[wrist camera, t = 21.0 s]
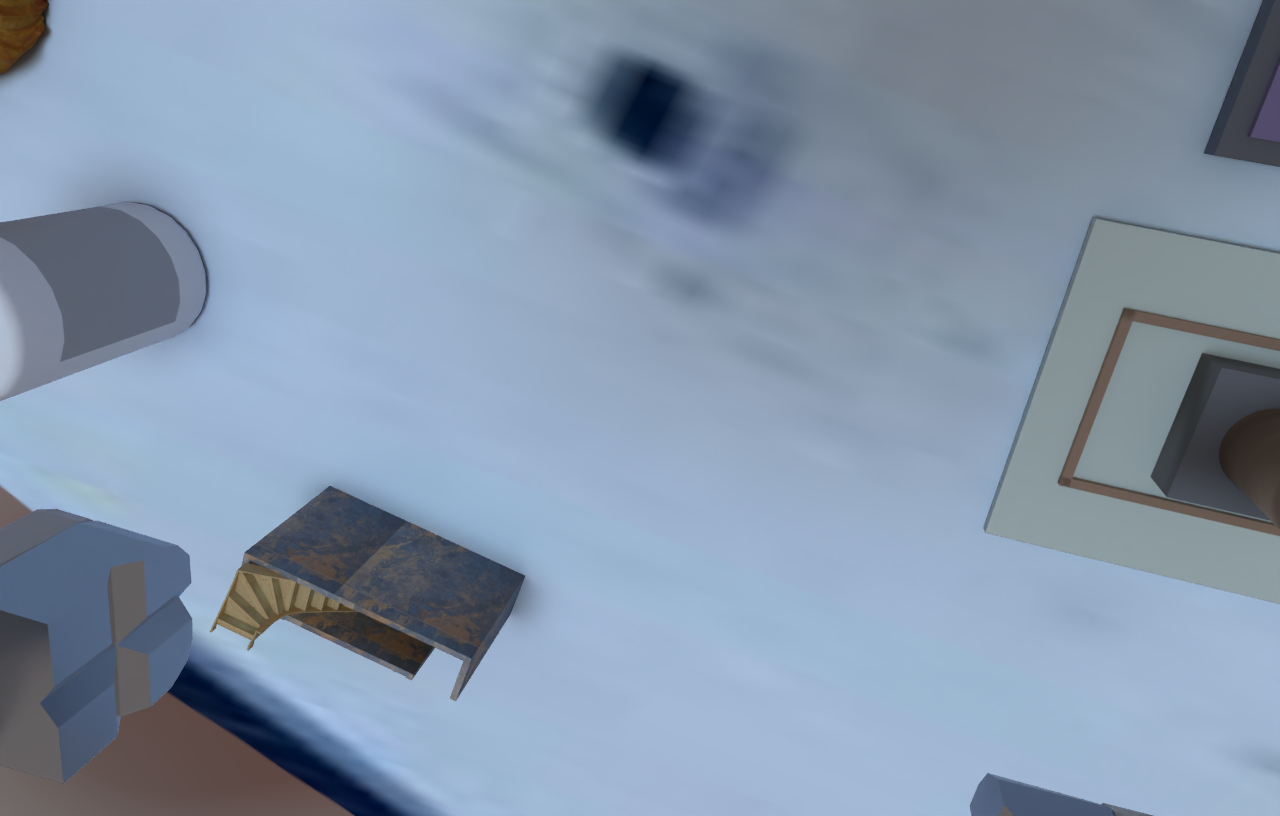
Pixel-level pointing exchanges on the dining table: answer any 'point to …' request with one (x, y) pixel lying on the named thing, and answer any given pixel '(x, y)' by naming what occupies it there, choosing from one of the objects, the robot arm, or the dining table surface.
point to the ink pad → (1253, 97)
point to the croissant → (19, 28)
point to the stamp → (1226, 440)
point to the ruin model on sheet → (372, 587)
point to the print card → (1140, 408)
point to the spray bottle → (91, 290)
